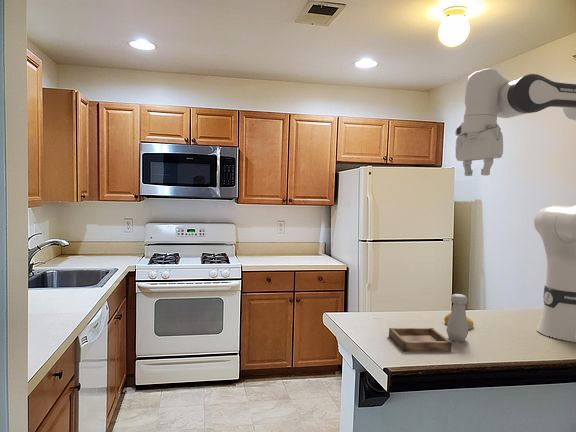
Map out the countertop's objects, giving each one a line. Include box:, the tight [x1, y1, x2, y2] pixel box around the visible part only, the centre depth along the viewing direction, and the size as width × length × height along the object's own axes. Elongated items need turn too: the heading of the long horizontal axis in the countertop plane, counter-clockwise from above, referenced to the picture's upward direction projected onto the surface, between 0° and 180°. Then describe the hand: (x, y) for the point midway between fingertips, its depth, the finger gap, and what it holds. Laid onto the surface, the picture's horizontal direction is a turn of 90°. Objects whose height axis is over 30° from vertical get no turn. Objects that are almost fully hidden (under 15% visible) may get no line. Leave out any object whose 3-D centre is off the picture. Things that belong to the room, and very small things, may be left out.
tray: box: [388, 327, 453, 352], centre depth 126 cm, size 13×12×2 cm
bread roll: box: [443, 312, 474, 331], centre depth 144 cm, size 8×9×4 cm
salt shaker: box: [446, 293, 469, 343], centre depth 130 cm, size 6×6×13 cm
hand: (476, 175), depth 132 cm, fingers open, 8 cm apart
